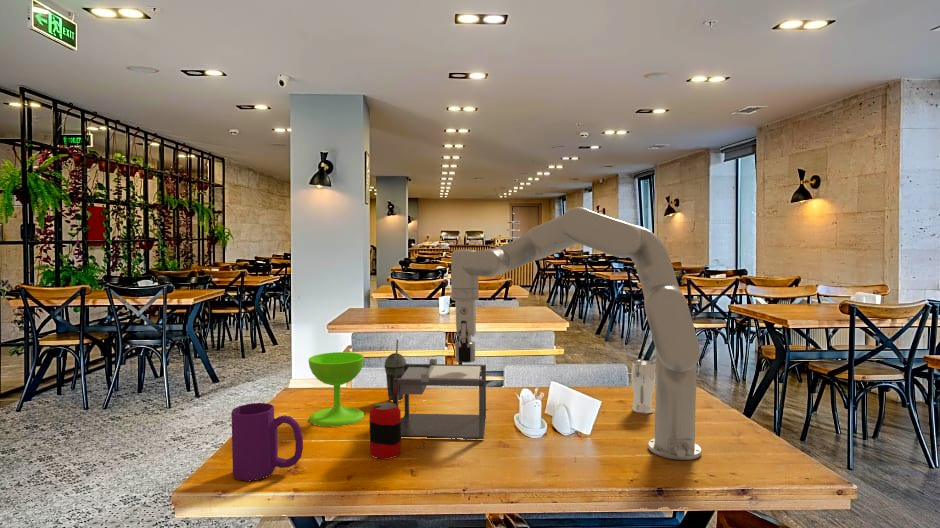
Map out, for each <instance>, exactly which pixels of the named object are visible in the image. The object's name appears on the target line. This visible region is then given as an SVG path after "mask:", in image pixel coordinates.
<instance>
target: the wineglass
mask: <svg viewBox="0 0 940 528" xmlns="http://www.w3.org/2000/svg"><path fill="white" fill-rule="evenodd" d="M364 362H365V355H363V354H362V353H359V352H351V351H350V352H349V351H348V352H347V351H340V352H339V351H337V352H336V351H333V352H327V353H320V354H316V355H312V356H310V357H309V358H308V366H309V369H310V371H311V373H312V375H314V377H315V378H316V379H317V380H318V381H320V382H321V383H323V384H325V385H328V386H333V406H332V407H328V408H322V409H320V410H318V411H315V412H313V414H312V415H310V417H309V423H310V424H312V423H313V424H312V425H314V424H316V425H315V426H317V425H320V426H319V427H321V426H341V427H343V426H342V425H347V426H349V425H348V424H351V425H354V424H353V423H355V424H357V423H359V422H358V421H360V420H361V419H363V417H364V415H365V413H364V412H363V411H362V410H361V409H359V408H357V407H351V406H342V405H341V386H342V385H346V384H348V383H349V382H351V381H353V380H354V379H355V378H356V377H357V376H358V375H359V373H360V372H361V370H362V369H363V366H364ZM364 418H365V417H364ZM363 420H364V419H363ZM361 421H362V420H361ZM361 421H360V422H361ZM356 422H357V423H356Z"/></svg>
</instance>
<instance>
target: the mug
mask: <svg viewBox="0 0 940 528" xmlns="http://www.w3.org/2000/svg"><path fill="white" fill-rule="evenodd" d="M283 424H287V425H288V426H290V427H291V429H292V431H293V434H294V440H295V441H294V442H295V449H294V450H295V451H294V455H292V457H289V458H283V457H279V455H278V454H279V452H278V451H279V450H278V449H279V448H278V447H279V446H278V443H279V441H278V427H280V426H281V425H283ZM302 431H303V430H302V428H301V426H300V423H299V422H298V421H297V420H296V419H295V418H293V417H292V416H290V415H280V416H278V417H276V418H275V405H273V404H271V403H267V402H266V403H265V402H255V403H253V402H252V403H247V404H243V405H239V406H237V407H235V408H232V409H231V446H232V447H231V453H232V477H233V478H234V477H235V479H236V480H238V481H240V480H246V481H245V482H250V481H249V480H255V479H260V480H262V479H261V478H263V477H266V476H268V477H270V476H271V475H272V474H273V472H274V471H275V469H276V467H277V468H282V469H283V468H286V469H287V468H290V467H293V466H295V465H297V463H298V462H299V461H300V460H301V458H302V455H303V450H304V437H303V432H302ZM269 475H270V476H269ZM266 478H267V477H266ZM263 479H264V478H263ZM255 481H256V480H255Z"/></svg>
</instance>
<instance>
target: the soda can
mask: <svg viewBox="0 0 940 528" xmlns="http://www.w3.org/2000/svg"><path fill="white" fill-rule="evenodd" d="M401 413H402V412H401V409H400V407H399V408H398V407H397V405H396V404H394V403H393V402H380V403H376V404H374V405H373V407H372V408H371V409H370V410H369V454H371V455H372V456H374V457H377V458H390V457H394V456H397V455H398V454H399V455H400V454H401V452H402V447H401V446H402V439H401V421H402V419H401ZM371 455H370V456H371ZM399 455H398V456H399ZM372 456H371V457H372ZM398 456H397V457H398ZM374 457H373V458H374ZM394 458H395V457H394Z"/></svg>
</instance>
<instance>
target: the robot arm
mask: <svg viewBox="0 0 940 528" xmlns="http://www.w3.org/2000/svg"><path fill="white" fill-rule="evenodd" d="M578 244H579V245H582V246H583V247H584V246H585V247H587V248H590V249H592V250H596V251H598V252H602V253H604V254H607V255H609V256H613V257H616V258H622V259H625V258H630V259H631V261H632V262H633V264H634V266H635V270H636V272H637V276H638V279H639V282H640V285H641V290H642V294H643V298H644V301H643V303H644V304H643V306H644V312H645V315H646V318H647V319H646V320H647V323H648V326H649V330H650V332H651V336H652V340H653V344H654V347H655V386H654V389H655V398H654V438H652V439H650V440H649V441H648V443H647V449H649V450H650V452H652V453H653V454H655V455H657V456H658V457H659V456H660V457H662V458H665V459H670V460H676V461H677V460H679V461H690V460H695V459H698V458H699V457H701V455H702V447H701V446H700V445H699V444H697V443H696V410H697V409H696V407H697V405H696V403H697V402H696V401H697V396H696V395H697V364H698V362H699V360H700V356H701V347H700V344H699V339H698V335H697V332H696V329H695V326H694V325H695V324H694V321H693V318H692V314H691V312H690V311H691V310H690V307H689V305H688V301H687V299H686V297H685V295H684V294H683V292H682V291H681V288H680V286H679V282H678V280H677V276H676V272H675V269H674V267H673V264H672V261H671V258H670V255H669V252H668V251H667V248H666V246H665V244H664V243H663V242H662V240H661V238H659V237H658V236H657V235H656V234H655V233H653V231H651V230H650V229H647V228H645V227H643V226H640V225H636V224H633V223H632V224H631V223H628V222H625V221H623V220H620V219H617V218H616V219H615V218H612V217H611V216H610V217H609V216H607V215H604V214H600V213H598V212H595V211H592V210H590V209H588V208H585V207H582V206H576V207H573V208H570V209H568V210H567V211H566V212H565V213H564V214H562V215H559V216H556V217H555V218H552V219H551V220H548V221H545V222H543V223H541V224H538V225H536V226H533V227H532V228H530V229H529V230H527V231H526V233H524V235H522V236H520V237H518V238H516V239H514V240H512V241H510V242H506V243H505V244H503V245H501V246H499V247H498V246H497V247H495V248H487V249H482V250H481V249H480V250H474V249H455V250H453V251H452V252H451V255H450V256H451V257H450V262H451V263H450V273H451V274H450V275H451V279H450V280H451V284H450V285H451V293H450V294H451V299H450V300H452V301H455V329H456V336H457V337H458V338H459V339H458V340H459V362H458V363H461V362H469V363H471V362H470V360H471V356H470V347H469V342H470V341H472V338H473V337H475V336H476V333H477V329H476V328H477V323H476V321H477V320H476V317H477V316H476V314H477V313H476V301H479V299H480V298H479V286H480V285H479V277H483V278H493V277H497V276H500V275H503V274H505V273H508V272H511V271H513V270H515V269H517V268H520V267H522V266H525V265H527V264H529V263H532V262H535V261H539V260H540V261H541V260H542V259H545V258H547V257H549V256H551V255H554V254H557V253H559V252H562V251H563V250H566V249H569V248H570V247H573V246H576V245H578Z"/></svg>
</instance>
